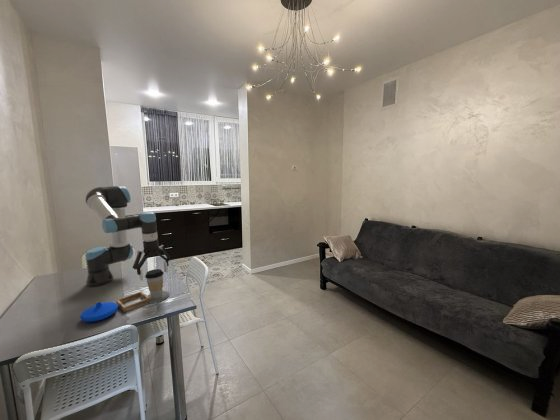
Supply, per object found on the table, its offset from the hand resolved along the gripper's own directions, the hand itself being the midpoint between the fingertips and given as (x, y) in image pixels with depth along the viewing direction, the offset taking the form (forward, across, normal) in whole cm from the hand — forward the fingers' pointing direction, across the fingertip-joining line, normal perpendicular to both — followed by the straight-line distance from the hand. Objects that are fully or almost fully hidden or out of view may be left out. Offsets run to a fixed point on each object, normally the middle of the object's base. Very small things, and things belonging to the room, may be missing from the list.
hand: (154, 275), depth 142 cm
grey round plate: (+13, 0, -1) cm, 13 cm away
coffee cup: (+13, 0, -1) cm, 13 cm away
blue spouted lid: (+14, -27, +3) cm, 30 cm away
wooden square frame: (+13, -11, +3) cm, 18 cm away
